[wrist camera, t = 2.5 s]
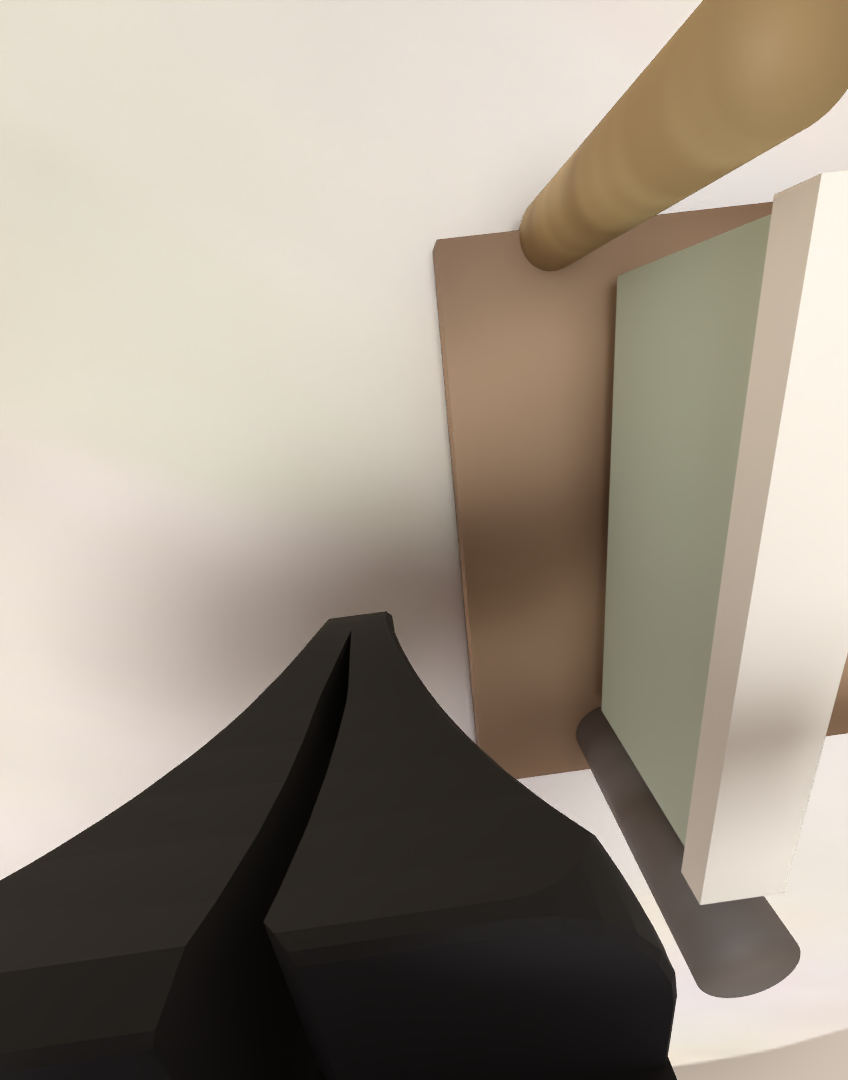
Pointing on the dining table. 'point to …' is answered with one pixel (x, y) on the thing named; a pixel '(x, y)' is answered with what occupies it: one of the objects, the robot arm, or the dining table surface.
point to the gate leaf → (732, 532)
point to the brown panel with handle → (606, 419)
